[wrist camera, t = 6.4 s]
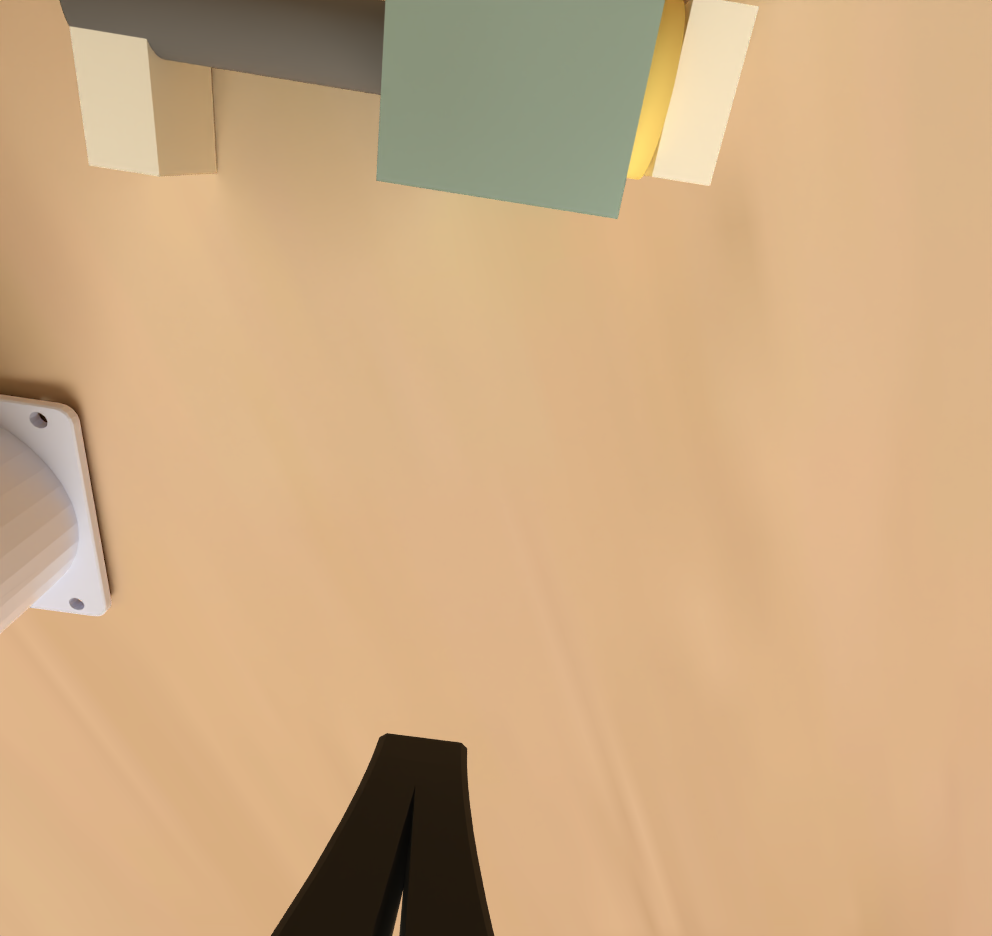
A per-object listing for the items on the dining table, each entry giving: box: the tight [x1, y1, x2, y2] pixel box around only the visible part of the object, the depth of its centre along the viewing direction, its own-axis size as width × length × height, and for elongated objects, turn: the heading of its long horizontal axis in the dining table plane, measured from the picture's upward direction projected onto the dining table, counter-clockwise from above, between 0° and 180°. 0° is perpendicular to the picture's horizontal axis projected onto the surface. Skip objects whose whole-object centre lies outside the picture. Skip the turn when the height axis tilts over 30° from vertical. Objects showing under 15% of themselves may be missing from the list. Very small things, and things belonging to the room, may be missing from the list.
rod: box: [60, 0, 685, 179], centre depth 13 cm, size 13×3×3 cm, turn 82°
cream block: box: [644, 0, 759, 186], centre depth 13 cm, size 1×3×3 cm, turn 172°
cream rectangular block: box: [69, 26, 217, 177], centre depth 13 cm, size 2×6×3 cm, turn 172°
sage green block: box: [376, 0, 665, 219], centre depth 12 cm, size 4×4×6 cm
